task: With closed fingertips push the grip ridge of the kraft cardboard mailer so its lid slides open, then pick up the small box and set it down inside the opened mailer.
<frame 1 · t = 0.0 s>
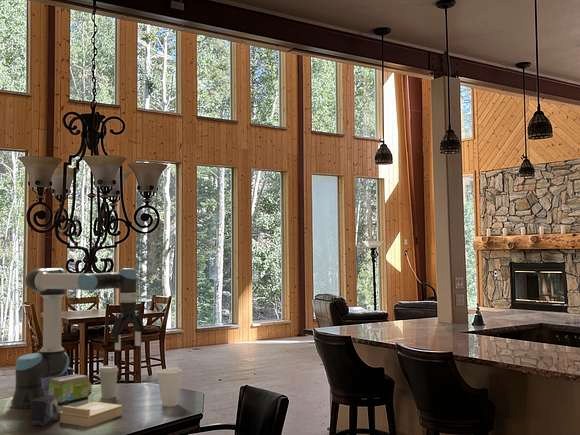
hand: (127, 347, 285), 28 cm above the table, fingers open, 13 cm apart
tea box: (68, 409, 285), on the table
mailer: (91, 418, 268), on the table
bread: (74, 393, 319), on the table
lid: (91, 406, 268), point 5 cm above the table, slide at 0.0 cm
small box: (44, 423, 263), on the table
cup: (169, 405, 291), on the table
coffee cup: (108, 397, 308), on the table
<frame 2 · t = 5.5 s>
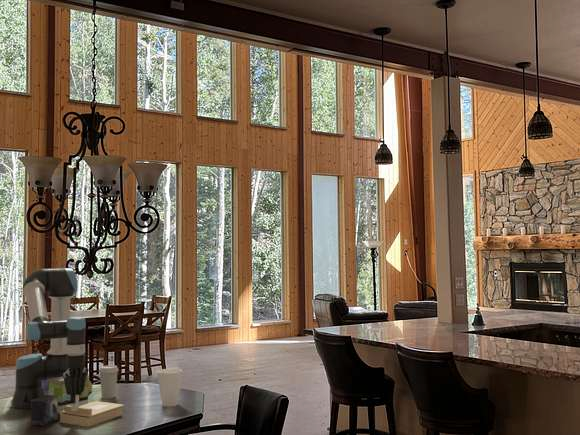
hand: (75, 410, 260), 6 cm above the table, fingers closed
lid: (93, 405, 269), point 5 cm above the table, slide at 1.1 cm, touching gripper
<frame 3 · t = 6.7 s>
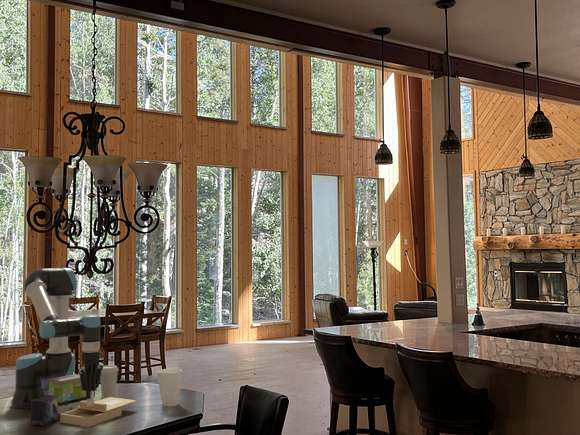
hand: (90, 405, 268), 6 cm above the table, fingers closed
lid: (107, 401, 277), point 5 cm above the table, slide at 9.8 cm, touching gripper
everything else where it was.
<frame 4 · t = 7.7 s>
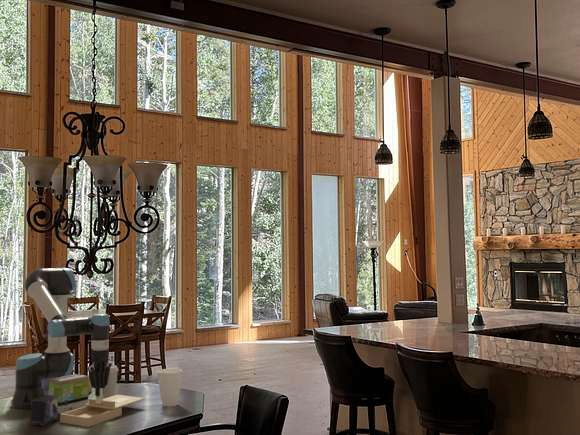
hand: (99, 403, 273), 6 cm above the table, fingers closed
lid: (115, 398, 282), point 5 cm above the table, slide at 15.1 cm, touching gripper
everything else where it was.
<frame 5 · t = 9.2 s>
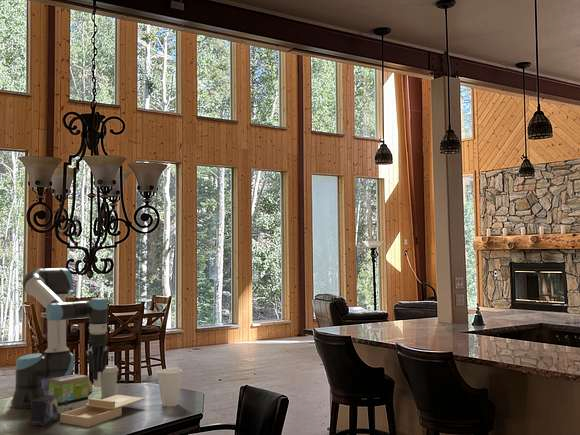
hand: (97, 386, 272), 13 cm above the table, fingers closed
lid: (115, 398, 282), point 5 cm above the table, slide at 15.0 cm
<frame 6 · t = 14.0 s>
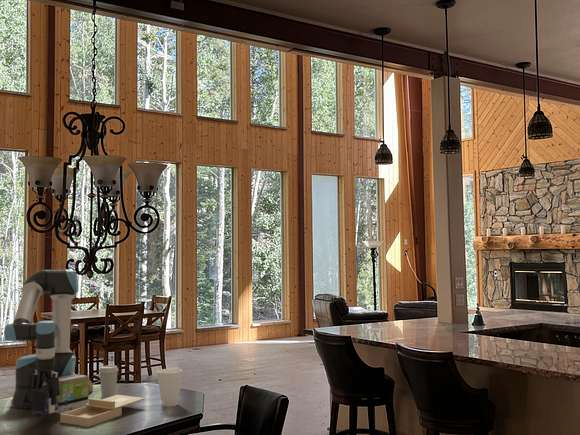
hand: (45, 411, 264), 5 cm above the table, fingers closed on small box, 7 cm apart
small box: (45, 412, 264), point 4 cm above the table, touching gripper
when the fingers open (4 cm above the table, at t = 18.6 s): small box drops 2 cm, resting on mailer.
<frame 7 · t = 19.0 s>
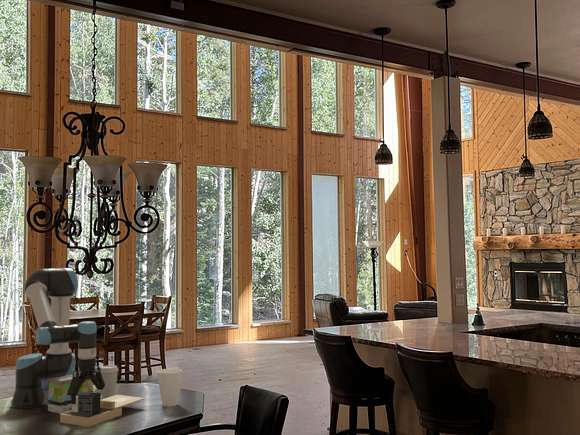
hand: (86, 408, 266), 5 cm above the table, fingers open, 12 cm apart
small box: (86, 418, 265), point 1 cm above the table, touching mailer
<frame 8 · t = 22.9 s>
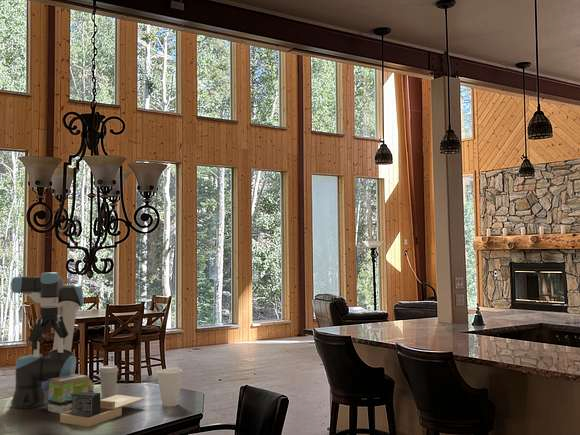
hand: (48, 354, 276), 27 cm above the table, fingers open, 13 cm apart
at the end: lid slide at 15.0 cm; small box inside the target area on the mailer (1.0 cm from its centre), point 0.8 cm above the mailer's base; small box tilted 0° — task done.
